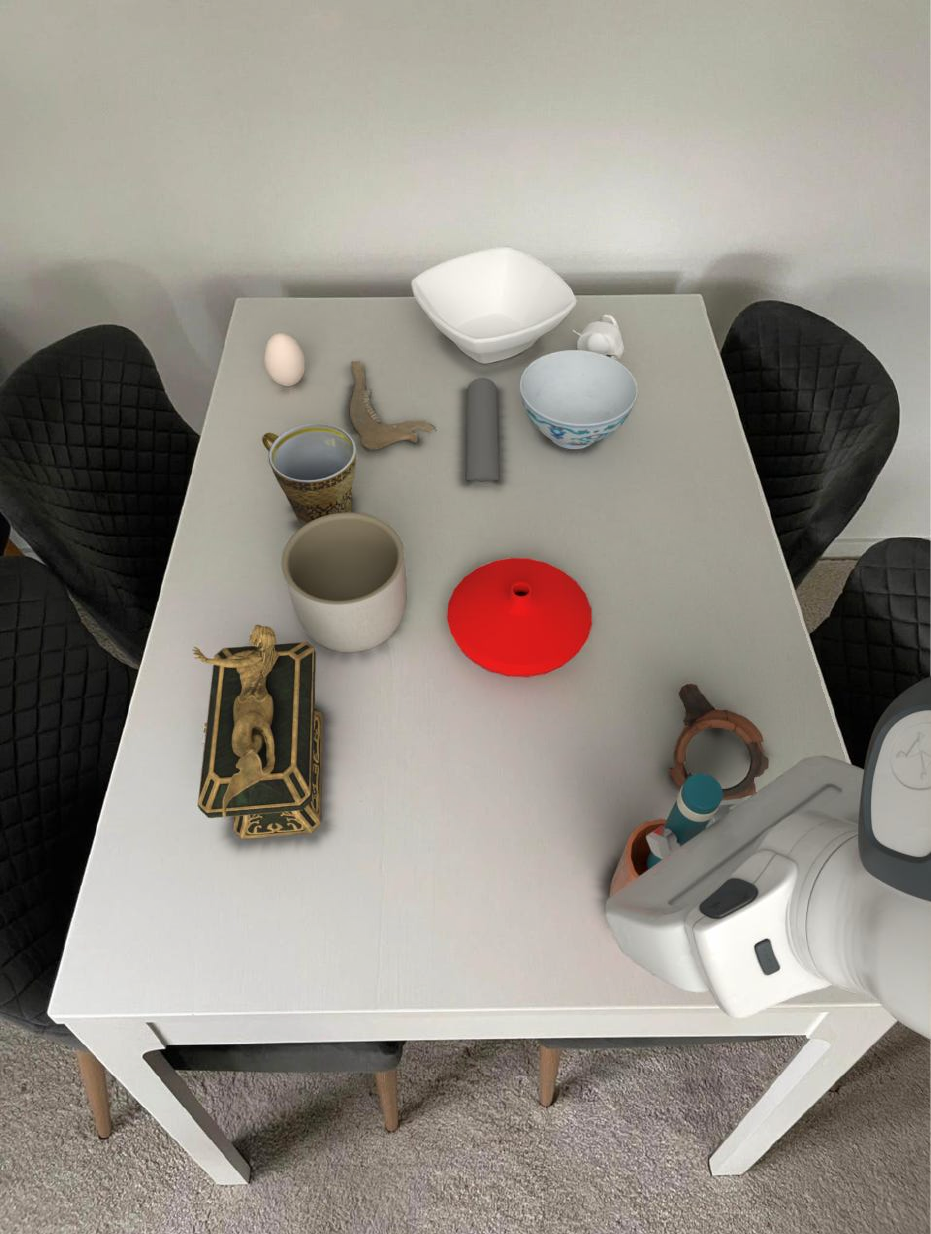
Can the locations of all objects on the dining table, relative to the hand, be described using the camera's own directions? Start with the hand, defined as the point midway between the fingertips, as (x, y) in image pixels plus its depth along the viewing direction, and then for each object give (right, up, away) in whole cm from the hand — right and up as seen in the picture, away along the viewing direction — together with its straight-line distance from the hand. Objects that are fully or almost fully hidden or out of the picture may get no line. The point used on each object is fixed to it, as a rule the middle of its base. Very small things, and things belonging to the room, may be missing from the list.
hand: (675, 825), depth 61 cm
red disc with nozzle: (-10, +14, +31) cm, 35 cm away
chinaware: (-1, +40, +50) cm, 64 cm away
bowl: (-12, +56, +62) cm, 85 cm away
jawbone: (-26, +45, +54) cm, 75 cm away
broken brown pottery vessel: (+9, +1, +21) cm, 23 cm away
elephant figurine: (+4, +53, +60) cm, 80 cm away
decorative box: (-34, -1, +20) cm, 39 cm away
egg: (-41, +49, +57) cm, 85 cm away
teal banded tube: (0, -5, +5) cm, 7 cm away
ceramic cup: (-34, +29, +42) cm, 62 cm away
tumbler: (+1, -10, +13) cm, 16 cm away
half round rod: (-13, +40, +50) cm, 66 cm away
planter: (-28, +15, +32) cm, 45 cm away
